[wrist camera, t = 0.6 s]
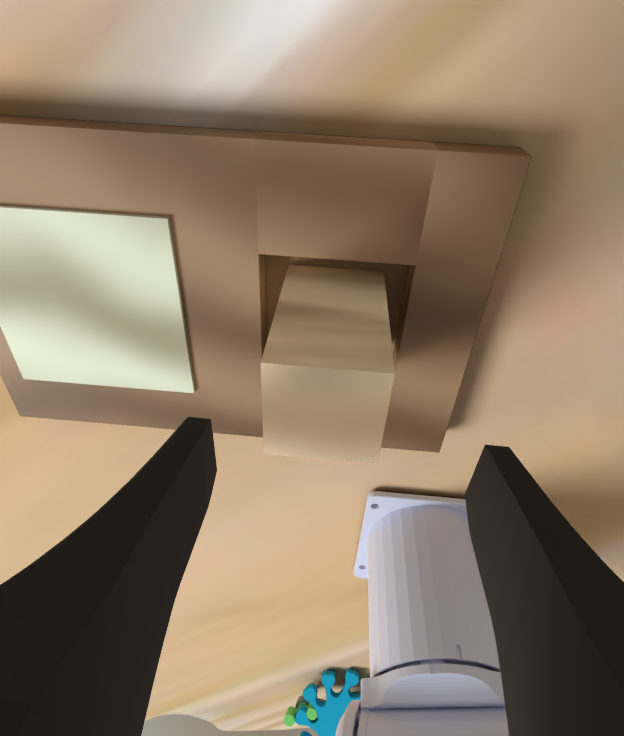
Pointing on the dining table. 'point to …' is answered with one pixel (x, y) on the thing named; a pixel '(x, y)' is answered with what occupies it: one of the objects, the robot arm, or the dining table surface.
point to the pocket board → (230, 263)
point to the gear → (323, 705)
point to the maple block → (328, 366)
